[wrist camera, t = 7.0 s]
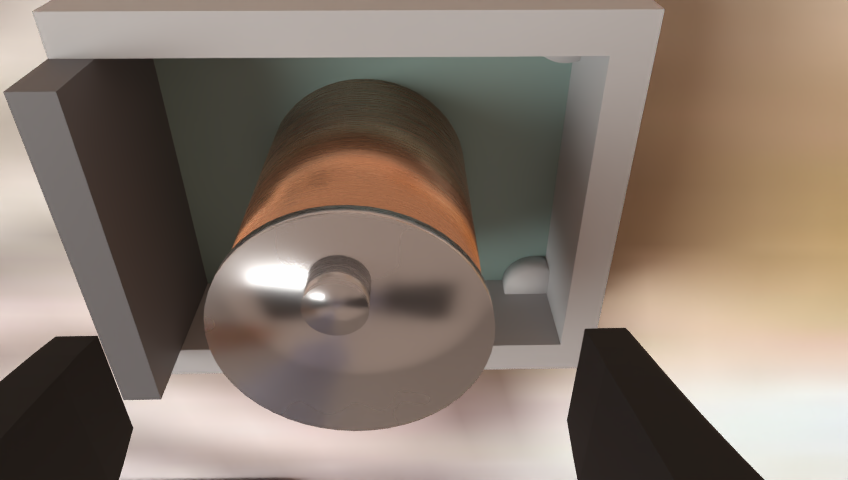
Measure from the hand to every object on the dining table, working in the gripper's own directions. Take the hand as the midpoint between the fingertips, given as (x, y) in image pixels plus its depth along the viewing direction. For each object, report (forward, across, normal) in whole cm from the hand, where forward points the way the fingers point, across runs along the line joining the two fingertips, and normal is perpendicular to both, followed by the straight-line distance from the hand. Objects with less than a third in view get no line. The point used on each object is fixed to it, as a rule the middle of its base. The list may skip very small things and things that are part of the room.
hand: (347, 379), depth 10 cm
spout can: (+7, 0, 0) cm, 7 cm away
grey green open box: (+8, 0, 0) cm, 8 cm away
